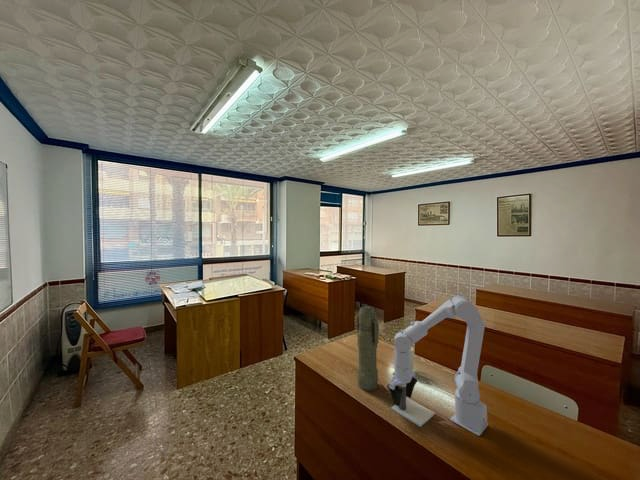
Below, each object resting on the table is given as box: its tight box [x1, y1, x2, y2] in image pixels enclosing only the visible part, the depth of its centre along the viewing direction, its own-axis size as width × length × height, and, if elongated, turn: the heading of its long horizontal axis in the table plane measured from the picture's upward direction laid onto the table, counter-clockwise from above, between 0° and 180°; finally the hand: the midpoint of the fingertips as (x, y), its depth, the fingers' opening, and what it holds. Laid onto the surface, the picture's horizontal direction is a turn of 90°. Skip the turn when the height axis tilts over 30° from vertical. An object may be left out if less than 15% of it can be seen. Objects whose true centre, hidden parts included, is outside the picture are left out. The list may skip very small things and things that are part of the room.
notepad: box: [391, 396, 436, 428], centre depth 95 cm, size 12×10×1 cm
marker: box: [398, 383, 407, 410], centre depth 96 cm, size 3×3×10 cm
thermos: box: [356, 305, 380, 392], centre depth 112 cm, size 9×12×35 cm
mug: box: [409, 346, 415, 371], centre depth 123 cm, size 10×7×12 cm, turn 128°
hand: (402, 400), depth 96 cm, fingers open, 7 cm apart
